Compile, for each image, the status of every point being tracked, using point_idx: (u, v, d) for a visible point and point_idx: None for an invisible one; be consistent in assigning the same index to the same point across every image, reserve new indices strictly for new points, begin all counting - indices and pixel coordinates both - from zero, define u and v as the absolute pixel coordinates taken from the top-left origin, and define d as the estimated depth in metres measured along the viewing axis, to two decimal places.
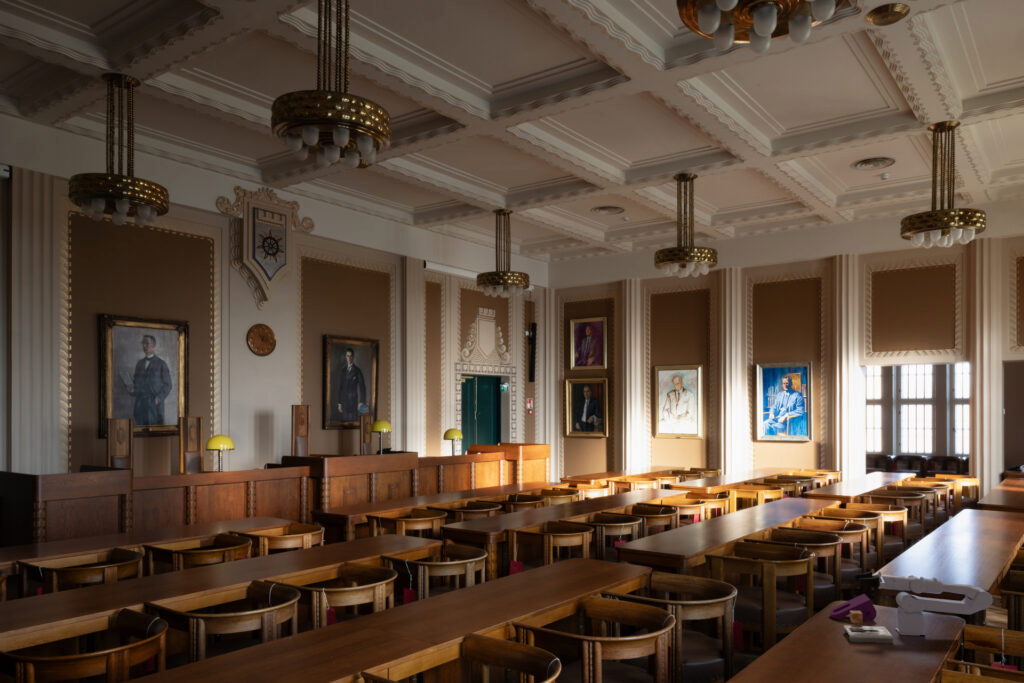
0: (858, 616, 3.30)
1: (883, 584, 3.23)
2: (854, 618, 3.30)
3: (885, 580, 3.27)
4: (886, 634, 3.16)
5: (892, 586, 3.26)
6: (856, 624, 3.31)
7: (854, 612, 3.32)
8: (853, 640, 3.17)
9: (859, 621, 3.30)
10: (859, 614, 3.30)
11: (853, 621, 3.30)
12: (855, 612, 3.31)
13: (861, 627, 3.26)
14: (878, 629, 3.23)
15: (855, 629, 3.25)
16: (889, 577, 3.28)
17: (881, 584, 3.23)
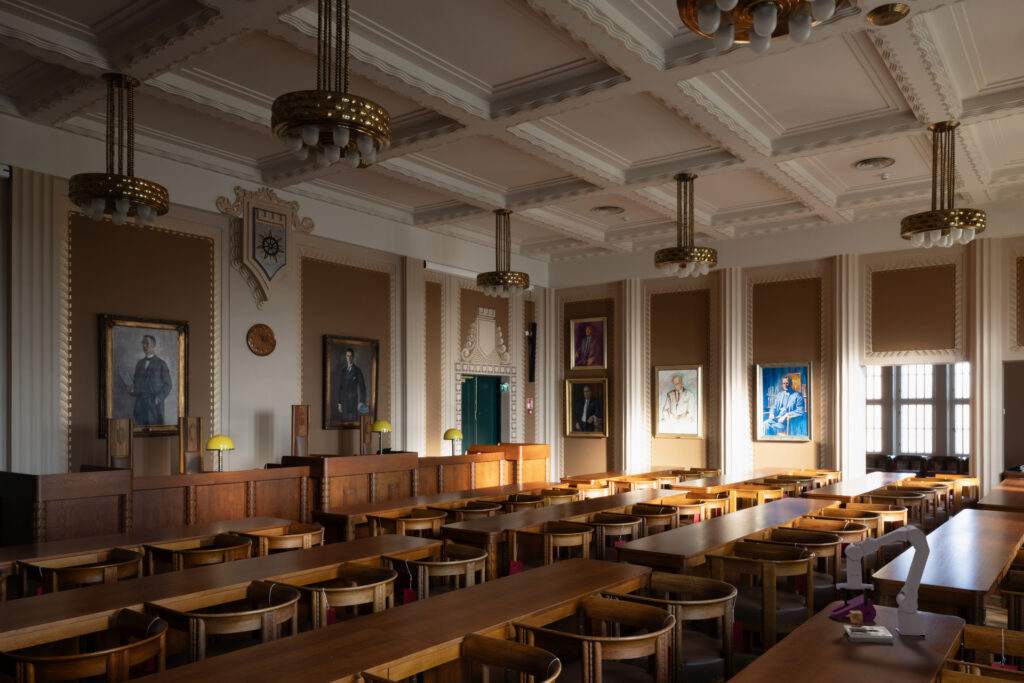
0: (858, 616, 3.30)
1: (836, 585, 3.34)
2: (854, 618, 3.30)
3: None
4: (886, 634, 3.16)
5: (848, 575, 3.32)
6: (856, 624, 3.31)
7: (854, 612, 3.32)
8: (853, 640, 3.17)
9: (859, 621, 3.30)
10: (859, 614, 3.30)
11: (853, 621, 3.30)
12: (855, 612, 3.31)
13: (861, 627, 3.26)
14: (878, 629, 3.23)
15: (855, 629, 3.25)
16: None
17: (836, 587, 3.34)
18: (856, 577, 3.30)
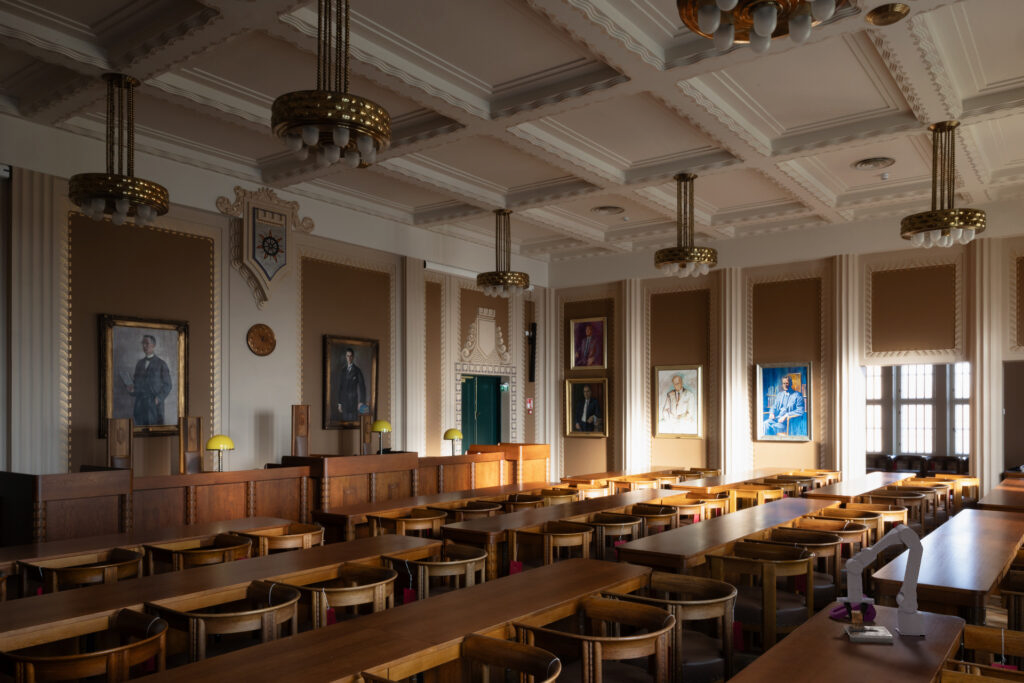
0: (858, 616, 3.30)
1: (837, 599, 3.34)
2: (854, 618, 3.30)
3: None
4: (886, 634, 3.16)
5: (849, 589, 3.32)
6: (856, 624, 3.31)
7: (854, 612, 3.32)
8: (853, 640, 3.17)
9: (859, 621, 3.30)
10: (859, 614, 3.30)
11: (853, 621, 3.30)
12: (855, 612, 3.31)
13: (861, 627, 3.26)
14: (878, 629, 3.23)
15: (855, 629, 3.25)
16: None
17: (837, 601, 3.34)
18: (857, 591, 3.30)
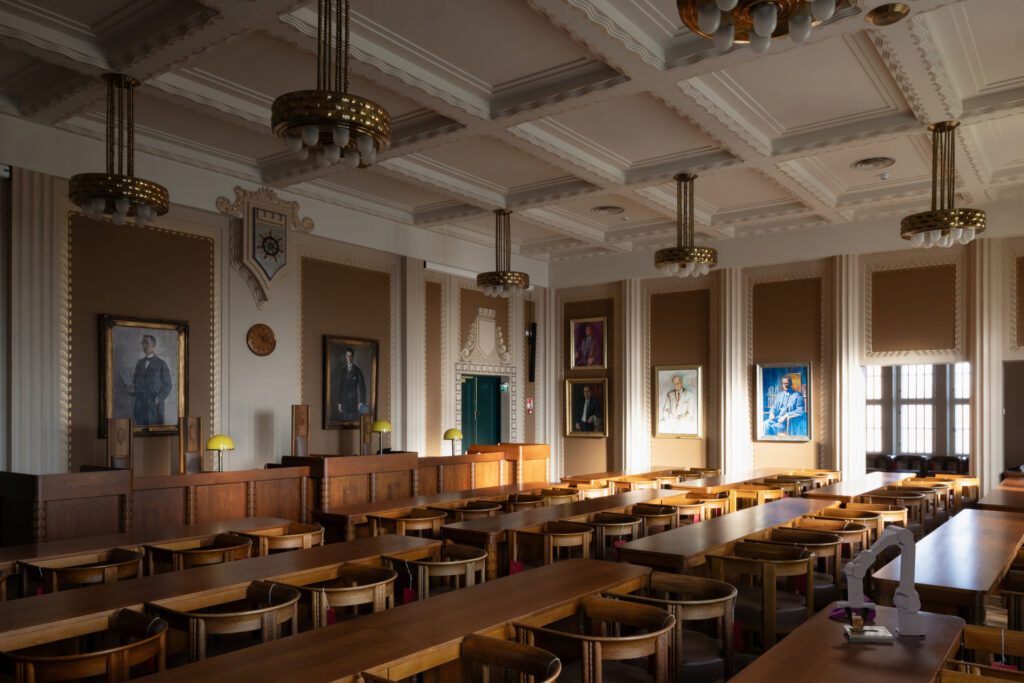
0: (859, 621, 3.21)
1: (837, 604, 3.24)
2: (855, 623, 3.21)
3: None
4: (886, 634, 3.16)
5: (849, 593, 3.22)
6: (857, 630, 3.22)
7: (855, 617, 3.23)
8: (853, 640, 3.17)
9: (860, 627, 3.20)
10: (860, 619, 3.21)
11: (853, 627, 3.21)
12: (856, 617, 3.22)
13: None
14: (878, 629, 3.23)
15: None
16: None
17: (837, 606, 3.24)
18: (857, 596, 3.20)
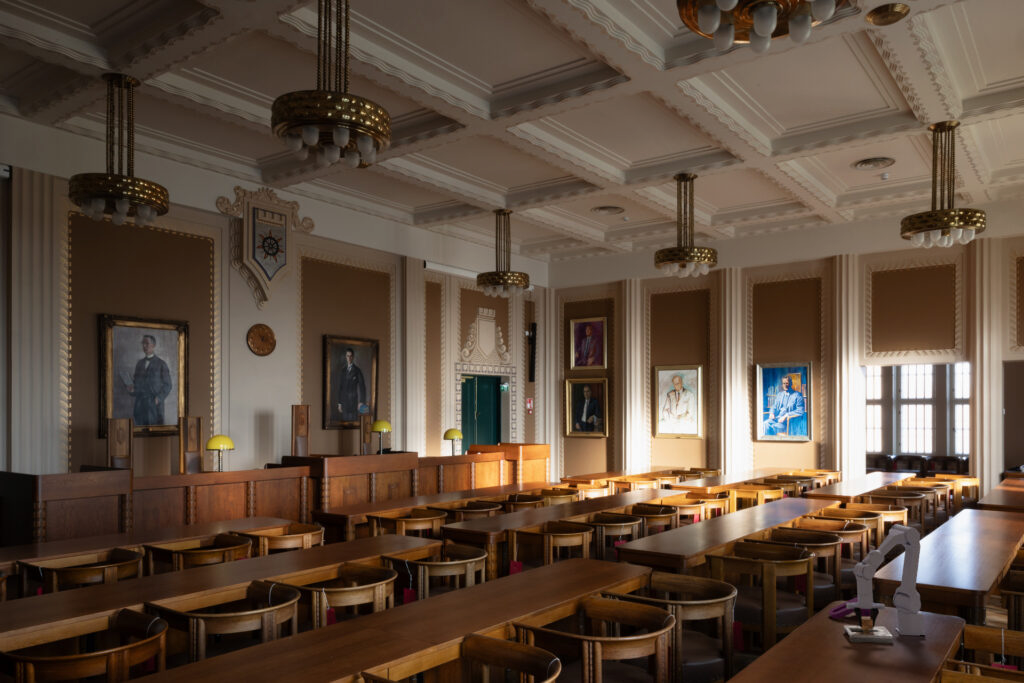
0: (868, 622, 3.20)
1: (846, 605, 3.24)
2: (864, 624, 3.20)
3: None
4: (886, 634, 3.16)
5: (859, 594, 3.22)
6: (866, 630, 3.21)
7: (864, 618, 3.22)
8: (853, 640, 3.17)
9: (869, 627, 3.20)
10: (869, 620, 3.20)
11: (863, 627, 3.20)
12: (865, 618, 3.21)
13: None
14: (878, 629, 3.23)
15: (855, 629, 3.25)
16: None
17: None
18: (867, 596, 3.19)
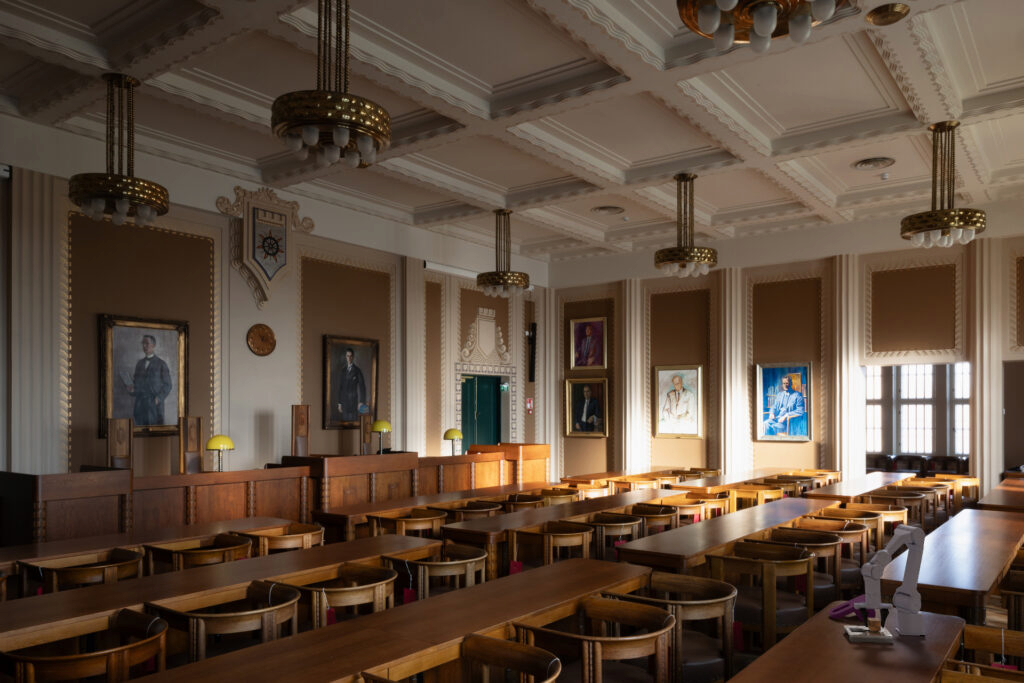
0: (876, 623, 3.19)
1: (854, 605, 3.23)
2: (872, 626, 3.19)
3: None
4: (886, 634, 3.16)
5: (867, 594, 3.21)
6: None
7: (872, 619, 3.21)
8: (853, 640, 3.17)
9: (877, 629, 3.19)
10: (877, 621, 3.19)
11: (871, 629, 3.20)
12: (873, 619, 3.21)
13: (861, 627, 3.26)
14: None
15: (855, 629, 3.25)
16: None
17: (854, 607, 3.23)
18: (875, 597, 3.19)
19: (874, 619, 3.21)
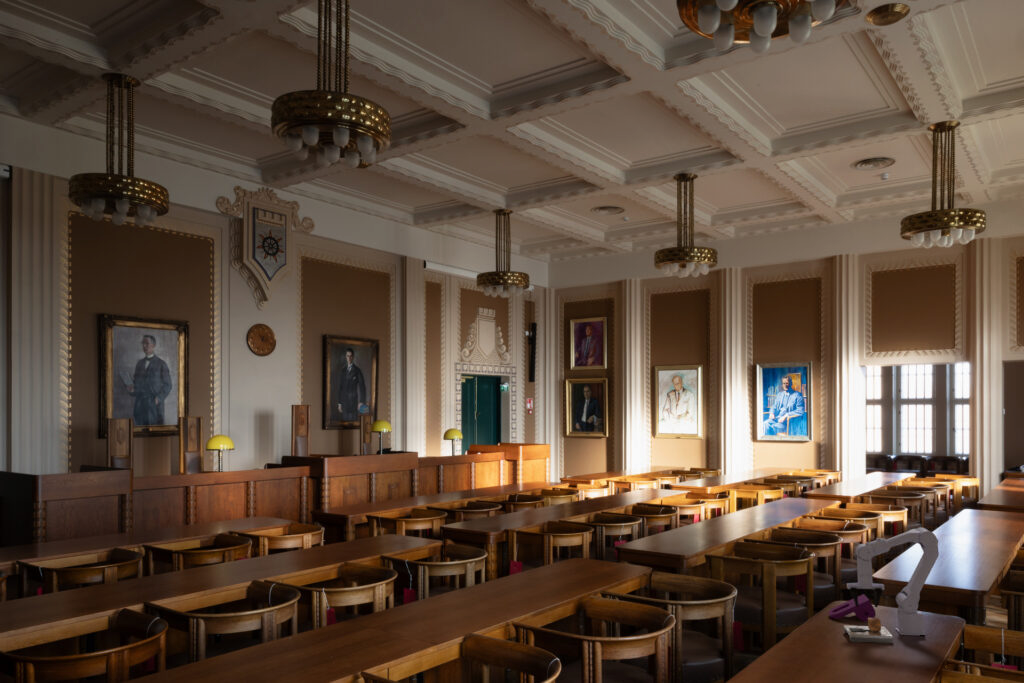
0: (876, 623, 3.19)
1: (847, 585, 3.32)
2: (872, 626, 3.19)
3: None
4: (886, 634, 3.16)
5: (859, 575, 3.30)
6: None
7: (873, 619, 3.21)
8: (853, 640, 3.17)
9: (877, 629, 3.19)
10: (877, 621, 3.19)
11: (871, 629, 3.20)
12: (873, 619, 3.21)
13: (861, 627, 3.26)
14: None
15: (855, 629, 3.25)
16: None
17: (847, 587, 3.32)
18: (867, 577, 3.28)
19: (874, 619, 3.21)
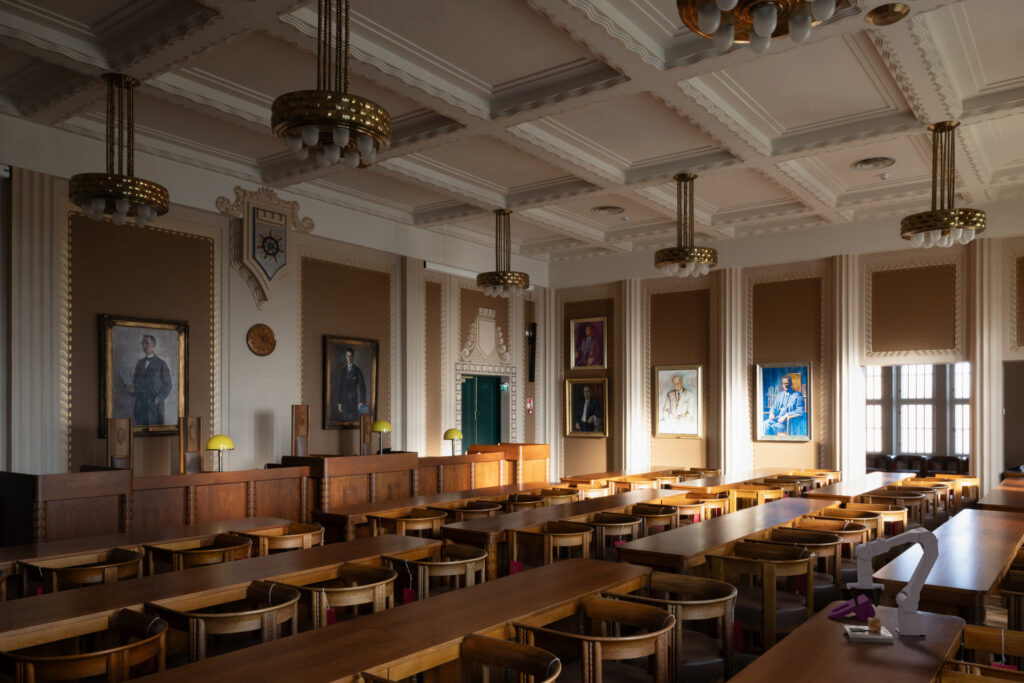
0: (876, 623, 3.19)
1: (847, 585, 3.32)
2: (872, 626, 3.19)
3: None
4: (886, 634, 3.16)
5: (859, 575, 3.30)
6: None
7: (873, 619, 3.21)
8: (853, 640, 3.17)
9: (877, 629, 3.19)
10: (877, 621, 3.19)
11: (871, 629, 3.20)
12: (873, 619, 3.21)
13: (861, 627, 3.26)
14: None
15: (855, 629, 3.25)
16: None
17: (847, 587, 3.32)
18: (867, 577, 3.28)
19: (874, 619, 3.21)
